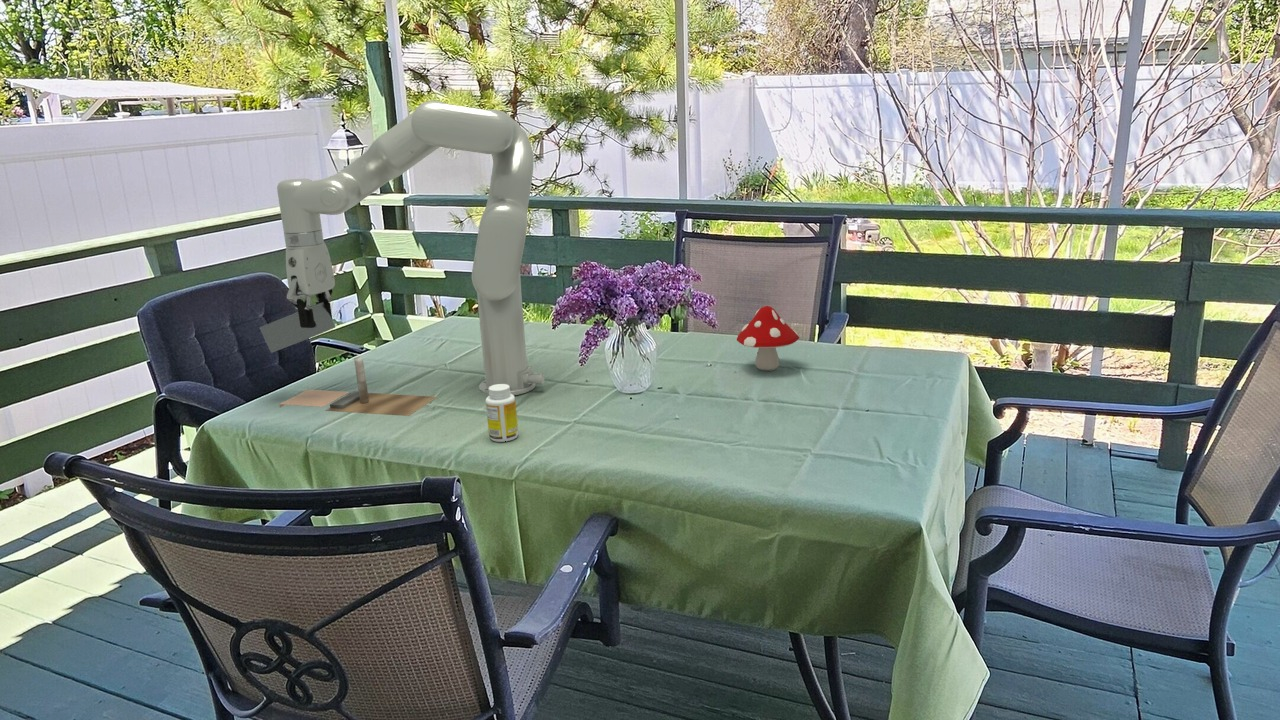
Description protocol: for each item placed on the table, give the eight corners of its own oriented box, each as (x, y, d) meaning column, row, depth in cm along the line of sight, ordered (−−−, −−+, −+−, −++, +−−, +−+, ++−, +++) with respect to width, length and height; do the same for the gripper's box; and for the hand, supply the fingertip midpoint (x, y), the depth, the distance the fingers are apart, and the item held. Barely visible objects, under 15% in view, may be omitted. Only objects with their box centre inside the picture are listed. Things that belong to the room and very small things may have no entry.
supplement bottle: (519, 431, 174) (514, 381, 171) (518, 441, 169) (513, 390, 166) (490, 433, 174) (485, 383, 171) (488, 444, 169) (483, 392, 166)
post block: (438, 400, 195) (432, 352, 192) (409, 419, 184) (402, 369, 181) (358, 395, 200) (351, 349, 197) (325, 414, 189) (318, 365, 186)
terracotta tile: (350, 395, 201) (349, 391, 201) (323, 410, 192) (322, 406, 192) (308, 392, 204) (308, 389, 204) (280, 407, 195) (279, 404, 195)
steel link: (335, 327, 194) (323, 301, 193) (320, 333, 189) (308, 307, 188) (287, 346, 199) (275, 321, 198) (271, 353, 194) (259, 327, 193)
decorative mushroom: (794, 359, 211) (794, 297, 207) (803, 377, 198) (804, 311, 194) (734, 362, 212) (733, 300, 207) (740, 379, 199) (738, 314, 194)
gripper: (293, 246, 178) (306, 334, 183) (343, 233, 194) (355, 314, 199) (261, 246, 180) (275, 333, 185) (314, 233, 196) (325, 313, 201)
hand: (316, 323), depth 192 cm, fingers closed on steel link, 5 cm apart
